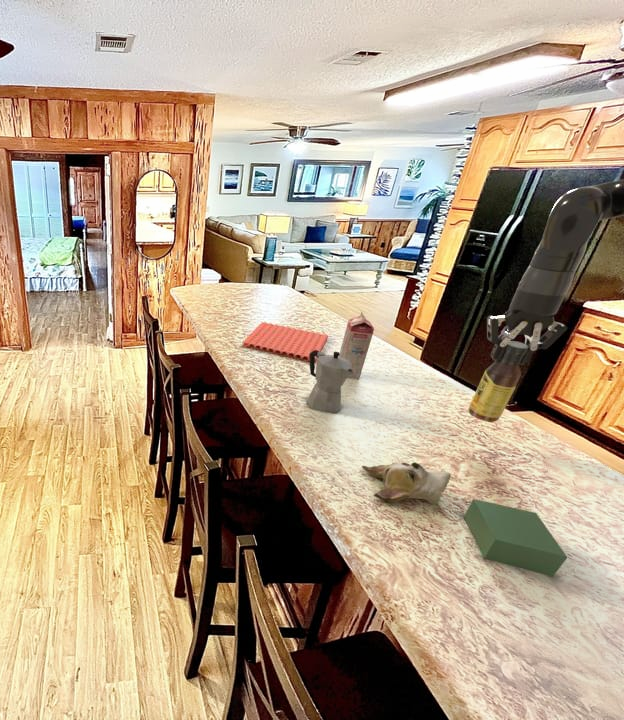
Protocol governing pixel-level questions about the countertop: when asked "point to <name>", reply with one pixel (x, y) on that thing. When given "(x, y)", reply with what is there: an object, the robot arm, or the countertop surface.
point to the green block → (514, 537)
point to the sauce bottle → (498, 384)
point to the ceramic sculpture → (409, 482)
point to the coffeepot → (328, 380)
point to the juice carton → (356, 343)
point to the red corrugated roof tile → (285, 341)
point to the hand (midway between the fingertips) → (507, 361)
